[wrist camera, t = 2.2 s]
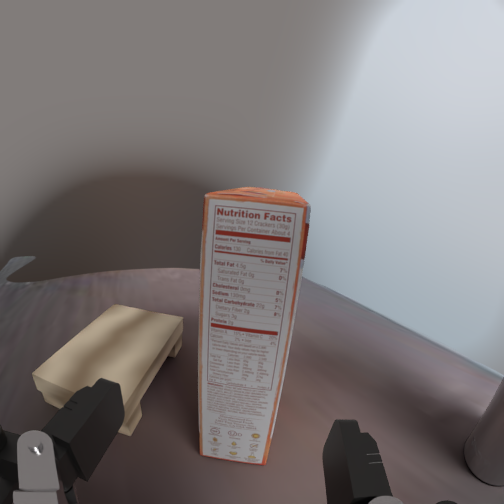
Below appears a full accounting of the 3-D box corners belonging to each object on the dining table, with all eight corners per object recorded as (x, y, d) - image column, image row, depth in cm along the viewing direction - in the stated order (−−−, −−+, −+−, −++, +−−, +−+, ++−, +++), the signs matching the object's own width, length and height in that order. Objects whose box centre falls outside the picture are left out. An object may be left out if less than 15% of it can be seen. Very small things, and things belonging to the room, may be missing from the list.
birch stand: (183, 343, 38) (183, 317, 37) (128, 440, 20) (121, 409, 19) (117, 329, 38) (114, 303, 37) (42, 404, 21) (31, 373, 20)
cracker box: (223, 368, 34) (239, 185, 29) (274, 375, 33) (302, 192, 28) (193, 456, 20) (200, 186, 15) (266, 469, 20) (317, 199, 15)
